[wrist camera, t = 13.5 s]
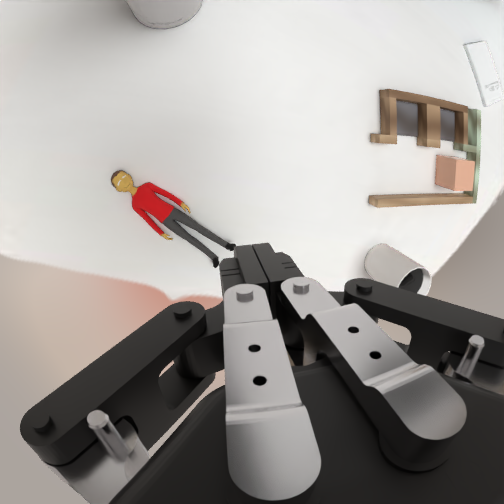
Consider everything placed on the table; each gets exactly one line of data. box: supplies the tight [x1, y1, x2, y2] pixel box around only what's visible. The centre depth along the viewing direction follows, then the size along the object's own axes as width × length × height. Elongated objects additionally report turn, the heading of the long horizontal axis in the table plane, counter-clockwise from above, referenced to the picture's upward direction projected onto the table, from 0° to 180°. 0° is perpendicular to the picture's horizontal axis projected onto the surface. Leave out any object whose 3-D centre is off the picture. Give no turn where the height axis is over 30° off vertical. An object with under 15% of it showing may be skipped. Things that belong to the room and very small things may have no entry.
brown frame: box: [369, 89, 481, 208], centre depth 40 cm, size 17×23×2 cm
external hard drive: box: [463, 41, 504, 107], centre depth 37 cm, size 2×8×12 cm
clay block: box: [435, 155, 475, 191], centre depth 41 cm, size 5×5×5 cm
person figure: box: [111, 170, 236, 268], centre depth 37 cm, size 5×4×18 cm
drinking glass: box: [365, 244, 431, 296], centre depth 43 cm, size 7×7×10 cm
